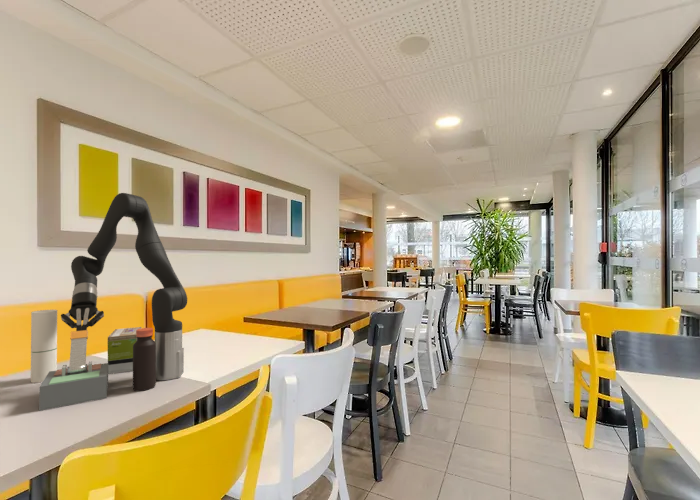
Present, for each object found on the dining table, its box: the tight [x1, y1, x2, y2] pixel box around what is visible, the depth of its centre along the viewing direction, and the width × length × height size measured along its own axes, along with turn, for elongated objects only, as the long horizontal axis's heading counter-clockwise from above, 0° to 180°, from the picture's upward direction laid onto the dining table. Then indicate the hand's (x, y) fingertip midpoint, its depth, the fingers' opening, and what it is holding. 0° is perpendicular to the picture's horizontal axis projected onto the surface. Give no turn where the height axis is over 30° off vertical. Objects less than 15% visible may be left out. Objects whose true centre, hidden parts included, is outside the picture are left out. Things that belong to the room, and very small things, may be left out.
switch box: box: [38, 360, 109, 412], centre depth 111 cm, size 16×16×10 cm
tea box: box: [107, 326, 142, 375], centre depth 139 cm, size 15×10×15 cm
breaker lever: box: [67, 329, 89, 374], centre depth 113 cm, size 5×3×14 cm, turn 123°
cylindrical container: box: [30, 309, 58, 384], centre depth 126 cm, size 7×7×25 cm
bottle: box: [132, 327, 157, 392], centre depth 117 cm, size 7×7×20 cm
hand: (81, 335), depth 119 cm, fingers closed
